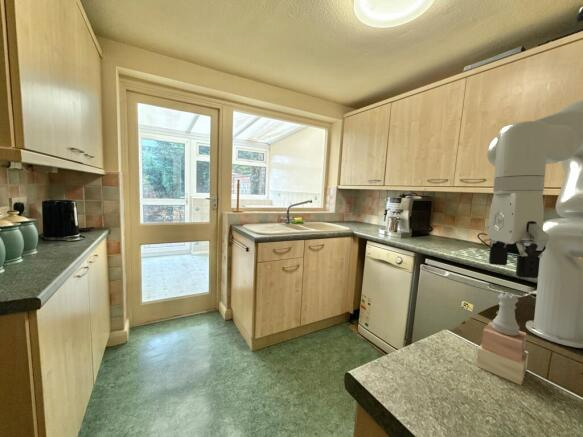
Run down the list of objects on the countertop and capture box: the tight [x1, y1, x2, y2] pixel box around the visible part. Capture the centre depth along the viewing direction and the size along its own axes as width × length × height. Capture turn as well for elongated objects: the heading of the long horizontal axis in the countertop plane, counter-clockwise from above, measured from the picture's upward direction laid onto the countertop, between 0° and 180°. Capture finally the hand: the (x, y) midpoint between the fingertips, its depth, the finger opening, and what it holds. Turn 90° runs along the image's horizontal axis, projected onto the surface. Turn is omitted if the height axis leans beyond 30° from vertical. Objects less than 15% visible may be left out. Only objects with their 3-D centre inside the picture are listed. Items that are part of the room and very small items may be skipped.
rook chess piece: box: [492, 291, 520, 336], centre depth 51 cm, size 4×4×8 cm
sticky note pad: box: [476, 321, 529, 386], centre depth 52 cm, size 7×7×8 cm
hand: (510, 270), depth 51 cm, fingers open, 9 cm apart
